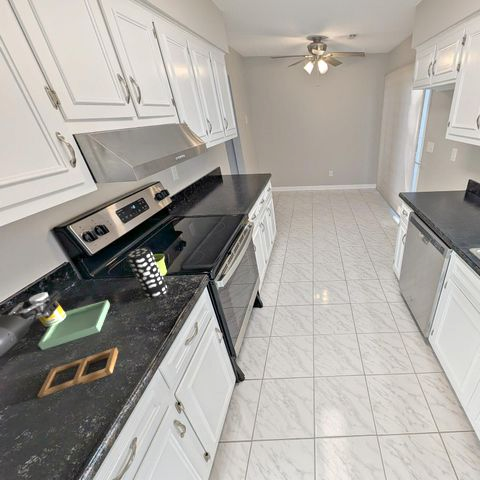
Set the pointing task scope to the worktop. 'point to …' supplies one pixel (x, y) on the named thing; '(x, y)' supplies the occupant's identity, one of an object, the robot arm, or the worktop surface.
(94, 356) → the bottle rack
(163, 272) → the plant pot
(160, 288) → the white-spotted black cylinder
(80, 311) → the tray
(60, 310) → the supplement bottle
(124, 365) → the worktop surface
